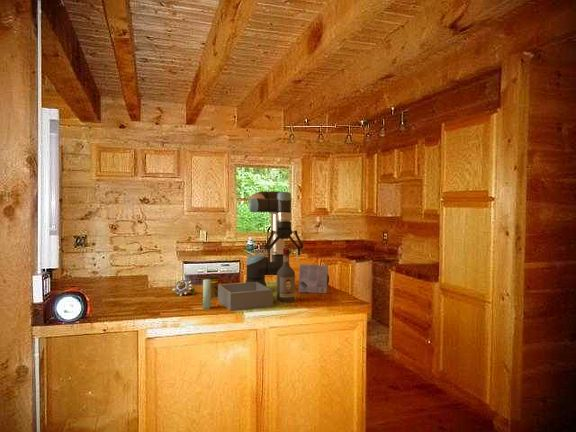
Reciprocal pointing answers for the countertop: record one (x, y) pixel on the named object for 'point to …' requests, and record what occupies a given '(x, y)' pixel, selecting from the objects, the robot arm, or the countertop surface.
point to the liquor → (285, 280)
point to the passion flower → (183, 287)
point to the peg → (206, 294)
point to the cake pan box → (313, 278)
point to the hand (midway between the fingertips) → (284, 262)
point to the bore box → (245, 296)
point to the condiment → (214, 286)
